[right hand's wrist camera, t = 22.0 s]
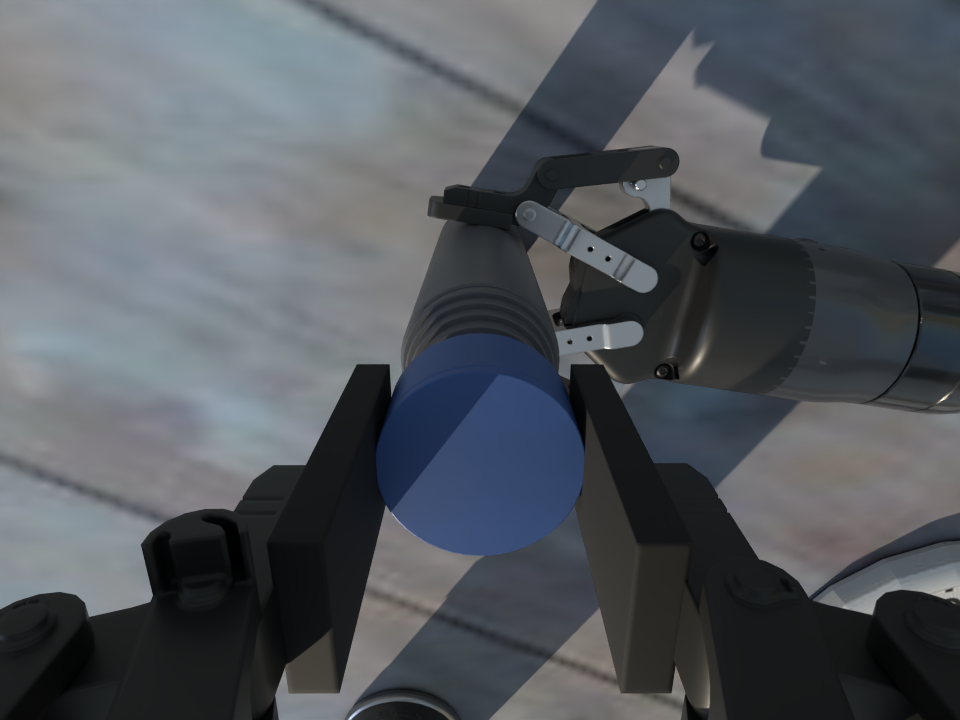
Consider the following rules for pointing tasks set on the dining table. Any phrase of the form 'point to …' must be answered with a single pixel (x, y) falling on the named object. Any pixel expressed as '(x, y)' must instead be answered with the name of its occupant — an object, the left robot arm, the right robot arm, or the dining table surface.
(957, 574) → the wall clock
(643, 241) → the left robot arm
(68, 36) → the dining table surface
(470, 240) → the bottle
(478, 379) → the cap
